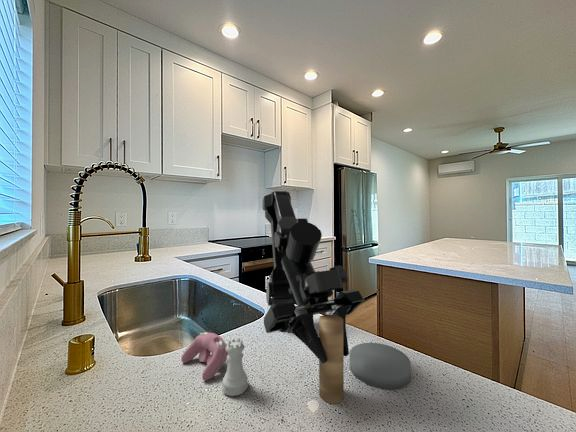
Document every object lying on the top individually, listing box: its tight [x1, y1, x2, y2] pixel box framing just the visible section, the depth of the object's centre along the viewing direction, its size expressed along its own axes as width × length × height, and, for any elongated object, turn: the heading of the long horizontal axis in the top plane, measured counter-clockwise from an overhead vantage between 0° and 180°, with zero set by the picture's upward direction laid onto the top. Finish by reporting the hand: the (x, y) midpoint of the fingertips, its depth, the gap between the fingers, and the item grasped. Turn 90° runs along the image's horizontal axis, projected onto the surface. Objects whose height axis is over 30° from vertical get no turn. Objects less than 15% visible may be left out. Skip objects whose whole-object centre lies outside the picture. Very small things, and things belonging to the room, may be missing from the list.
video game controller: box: [180, 331, 228, 382], centre depth 50 cm, size 10×5×7 cm, turn 48°
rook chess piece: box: [221, 338, 249, 397], centre depth 43 cm, size 4×4×8 cm
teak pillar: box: [318, 314, 345, 404], centre depth 42 cm, size 4×4×12 cm
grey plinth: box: [349, 342, 412, 390], centre depth 49 cm, size 11×11×2 cm
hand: (336, 358), depth 41 cm, fingers closed on teak pillar, 4 cm apart
